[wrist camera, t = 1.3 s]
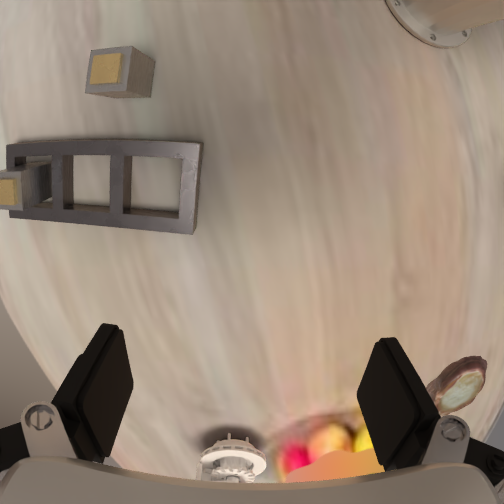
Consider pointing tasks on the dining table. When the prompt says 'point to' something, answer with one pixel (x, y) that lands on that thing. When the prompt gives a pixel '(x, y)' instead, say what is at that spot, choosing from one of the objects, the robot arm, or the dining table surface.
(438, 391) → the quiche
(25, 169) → the grey tan rectangular block
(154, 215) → the rail
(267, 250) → the dining table surface
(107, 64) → the brushed metal block
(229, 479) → the mechanical part
